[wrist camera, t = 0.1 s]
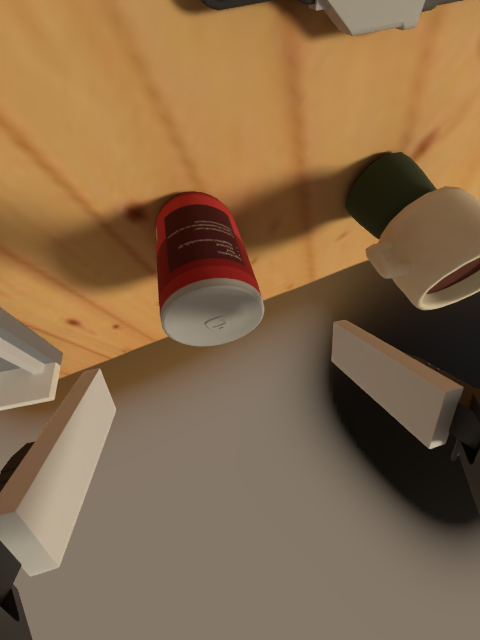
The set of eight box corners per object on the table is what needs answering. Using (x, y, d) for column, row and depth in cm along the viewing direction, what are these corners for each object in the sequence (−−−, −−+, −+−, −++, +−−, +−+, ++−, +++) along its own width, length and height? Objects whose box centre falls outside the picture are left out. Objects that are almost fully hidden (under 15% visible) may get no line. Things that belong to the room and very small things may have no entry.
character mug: (314, 225, 26) (375, 323, 19) (333, 153, 20) (432, 258, 13) (404, 208, 27) (492, 296, 20) (448, 134, 21) (595, 224, 14)
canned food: (193, 270, 28) (208, 355, 22) (134, 224, 21) (133, 326, 16) (248, 233, 25) (281, 318, 19) (200, 168, 19) (228, 266, 13)
